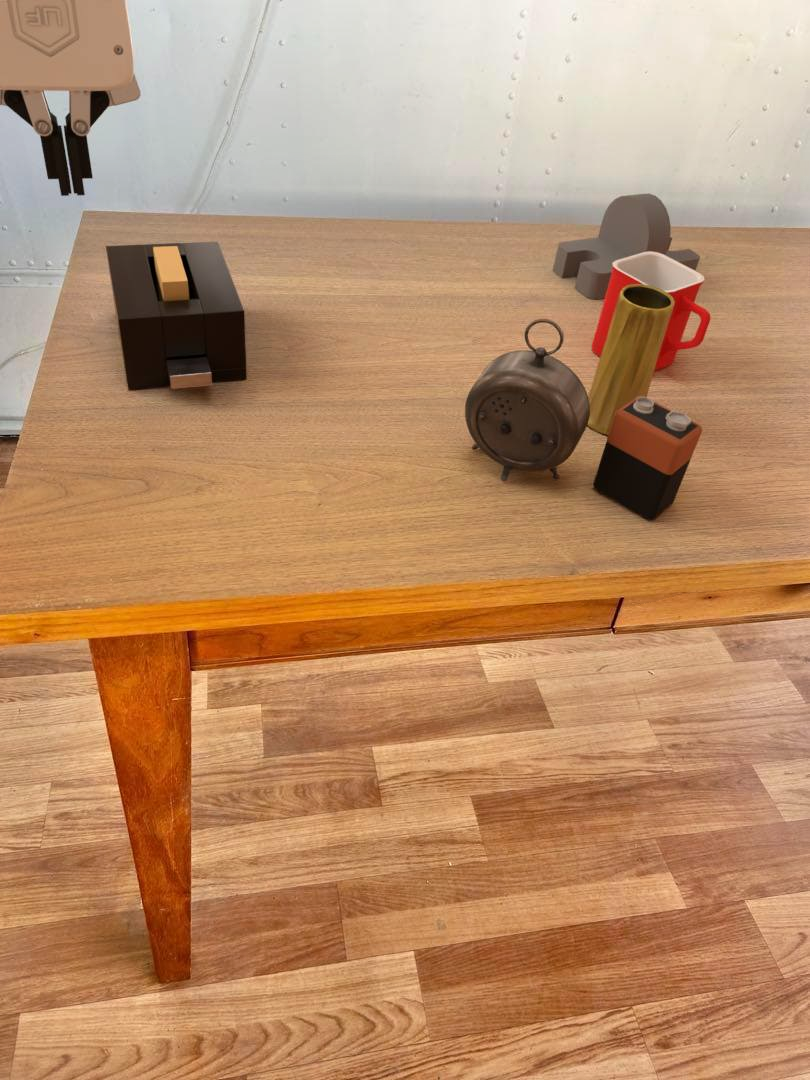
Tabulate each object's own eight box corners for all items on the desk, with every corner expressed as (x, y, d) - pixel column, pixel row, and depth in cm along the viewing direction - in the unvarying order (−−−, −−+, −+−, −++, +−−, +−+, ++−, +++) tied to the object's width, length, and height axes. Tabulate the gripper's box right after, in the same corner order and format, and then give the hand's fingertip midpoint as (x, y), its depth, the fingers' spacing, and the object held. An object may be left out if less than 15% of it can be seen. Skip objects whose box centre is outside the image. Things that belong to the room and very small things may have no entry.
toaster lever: (171, 389, 85) (170, 376, 84) (167, 373, 87) (166, 360, 86) (212, 385, 86) (211, 372, 85) (207, 369, 88) (206, 356, 87)
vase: (580, 431, 89) (616, 305, 80) (581, 400, 94) (615, 277, 84) (639, 441, 89) (682, 316, 79) (636, 409, 93) (677, 287, 84)
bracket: (695, 283, 119) (722, 205, 111) (590, 300, 112) (611, 218, 104) (651, 253, 125) (674, 177, 117) (549, 268, 118) (566, 188, 110)
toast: (169, 353, 90) (161, 282, 85) (160, 316, 95) (152, 246, 90) (193, 351, 91) (187, 280, 85) (183, 314, 96) (177, 245, 91)
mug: (583, 348, 102) (605, 263, 95) (628, 331, 106) (653, 249, 99) (660, 397, 96) (691, 310, 89) (706, 377, 100) (738, 293, 93)
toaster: (128, 390, 87) (118, 319, 82) (115, 313, 98) (105, 245, 92) (246, 379, 90) (244, 310, 85) (221, 306, 101) (218, 241, 96)
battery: (650, 524, 79) (685, 436, 72) (589, 488, 82) (617, 401, 76) (674, 504, 82) (709, 417, 75) (614, 470, 85) (642, 384, 78)
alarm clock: (573, 474, 84) (617, 324, 73) (557, 505, 80) (600, 352, 69) (470, 438, 86) (497, 289, 75) (449, 467, 83) (474, 314, 72)
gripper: (-136, -139, 44) (-46, 213, 57) (162, -116, 49) (186, 206, 61) (-121, -156, 49) (-41, 170, 62) (147, -134, 54) (172, 167, 66)
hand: (72, 187), depth 61 cm, fingers closed
